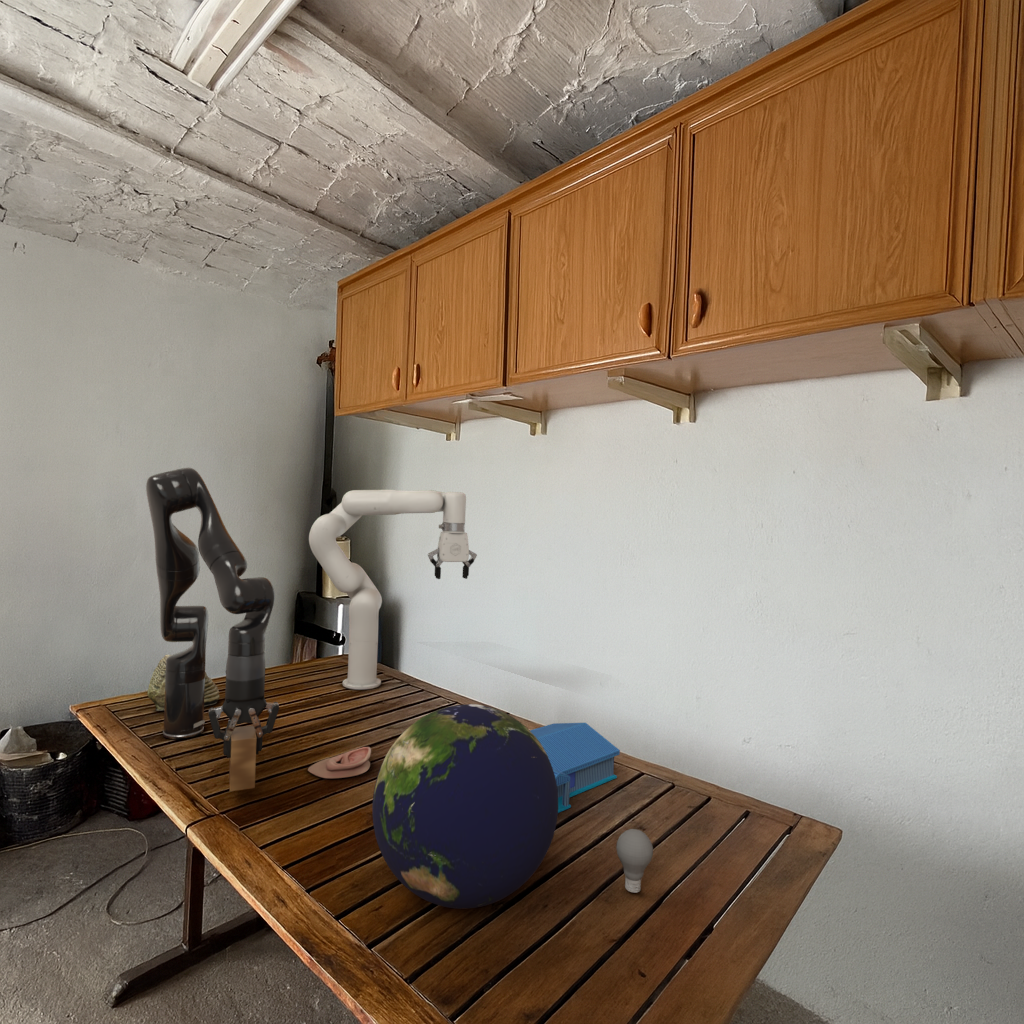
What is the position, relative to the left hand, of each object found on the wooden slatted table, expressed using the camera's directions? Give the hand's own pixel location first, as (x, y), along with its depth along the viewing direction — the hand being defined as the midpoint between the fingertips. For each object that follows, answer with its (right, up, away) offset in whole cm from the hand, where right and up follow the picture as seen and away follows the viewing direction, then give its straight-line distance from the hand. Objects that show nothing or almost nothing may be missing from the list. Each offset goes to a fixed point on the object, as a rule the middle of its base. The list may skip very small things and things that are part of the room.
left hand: (242, 754), depth 132 cm
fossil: (-40, -6, +53) cm, 67 cm away
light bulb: (+76, -13, -26) cm, 82 cm away
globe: (+48, -12, -29) cm, 57 cm away
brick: (0, -6, 0) cm, 6 cm away
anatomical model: (+16, -9, +15) cm, 24 cm away
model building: (+60, -11, +11) cm, 62 cm away
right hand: (+36, +28, +84) cm, 95 cm away
